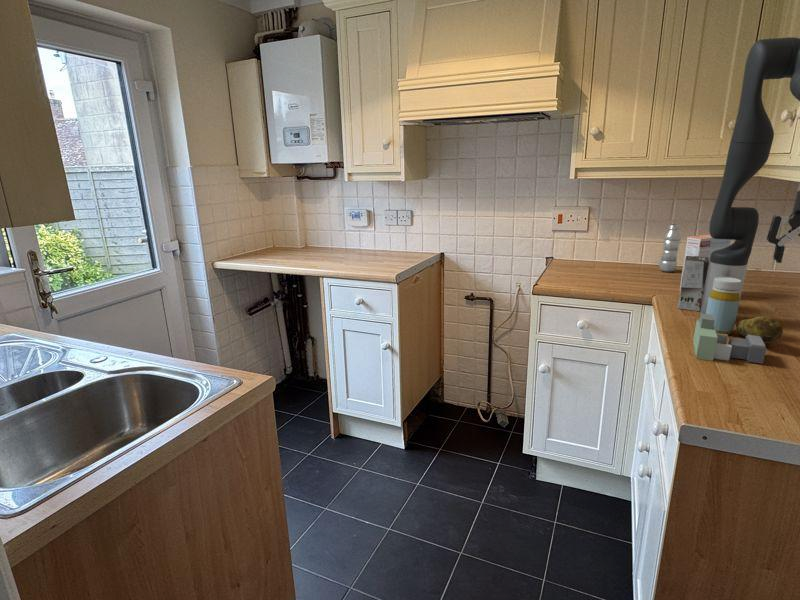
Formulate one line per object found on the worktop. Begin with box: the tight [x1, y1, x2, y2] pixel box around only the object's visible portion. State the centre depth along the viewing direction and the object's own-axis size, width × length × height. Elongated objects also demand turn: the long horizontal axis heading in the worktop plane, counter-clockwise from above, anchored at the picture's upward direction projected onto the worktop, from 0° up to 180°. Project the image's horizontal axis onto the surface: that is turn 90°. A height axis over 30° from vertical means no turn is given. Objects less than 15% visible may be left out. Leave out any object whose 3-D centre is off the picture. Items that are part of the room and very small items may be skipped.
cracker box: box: [679, 234, 731, 295], centre depth 166 cm, size 14×6×21 cm, turn 108°
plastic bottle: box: [658, 223, 682, 273], centre depth 199 cm, size 6×7×20 cm
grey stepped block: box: [727, 335, 767, 364], centre depth 115 cm, size 8×6×4 cm
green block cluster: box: [692, 313, 732, 362], centre depth 118 cm, size 13×7×8 cm, turn 152°
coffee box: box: [677, 256, 709, 312], centre depth 153 cm, size 9×6×16 cm
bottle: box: [706, 277, 741, 336], centre depth 131 cm, size 7×7×15 cm
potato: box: [735, 316, 784, 345], centre depth 123 cm, size 8×13×8 cm, turn 154°
